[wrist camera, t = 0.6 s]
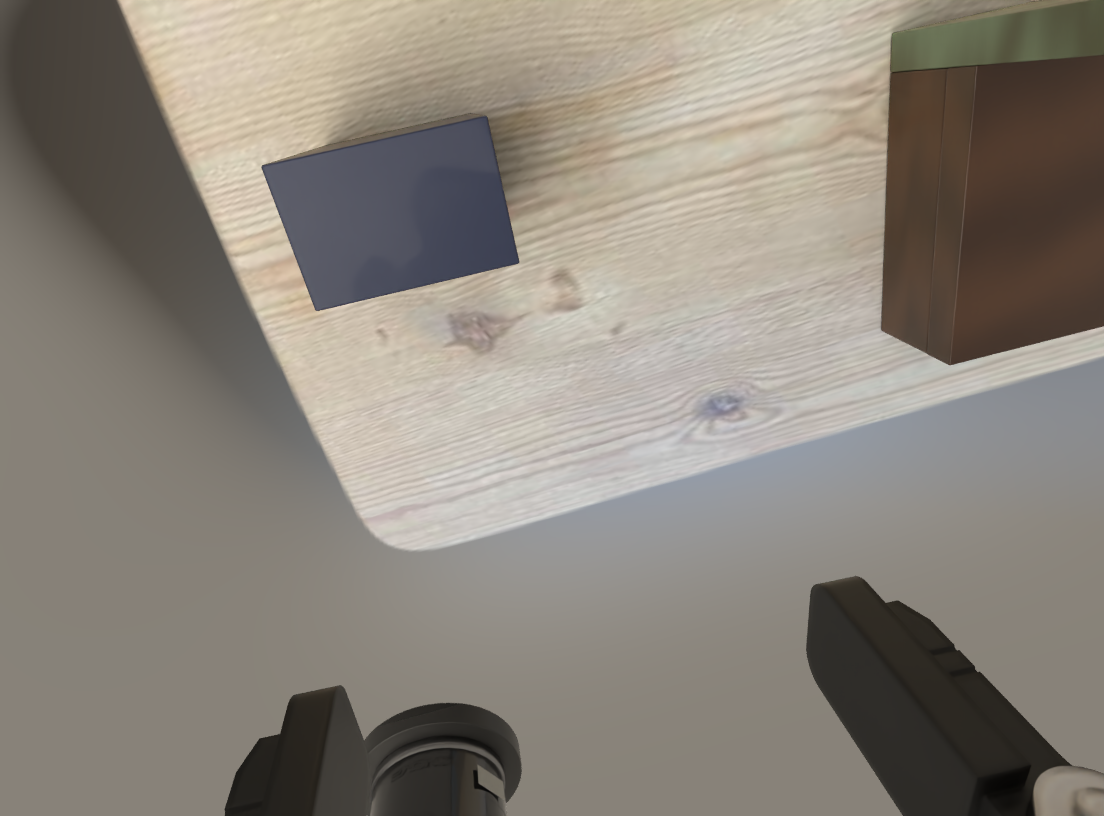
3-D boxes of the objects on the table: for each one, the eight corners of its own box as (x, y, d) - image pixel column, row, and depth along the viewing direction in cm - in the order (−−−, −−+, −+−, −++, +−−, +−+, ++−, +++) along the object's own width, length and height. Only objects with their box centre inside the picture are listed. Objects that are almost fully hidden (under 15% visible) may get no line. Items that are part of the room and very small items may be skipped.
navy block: (494, 213, 28) (519, 263, 19) (357, 245, 27) (315, 312, 18) (471, 112, 26) (486, 115, 17) (324, 145, 25) (260, 166, 17)
